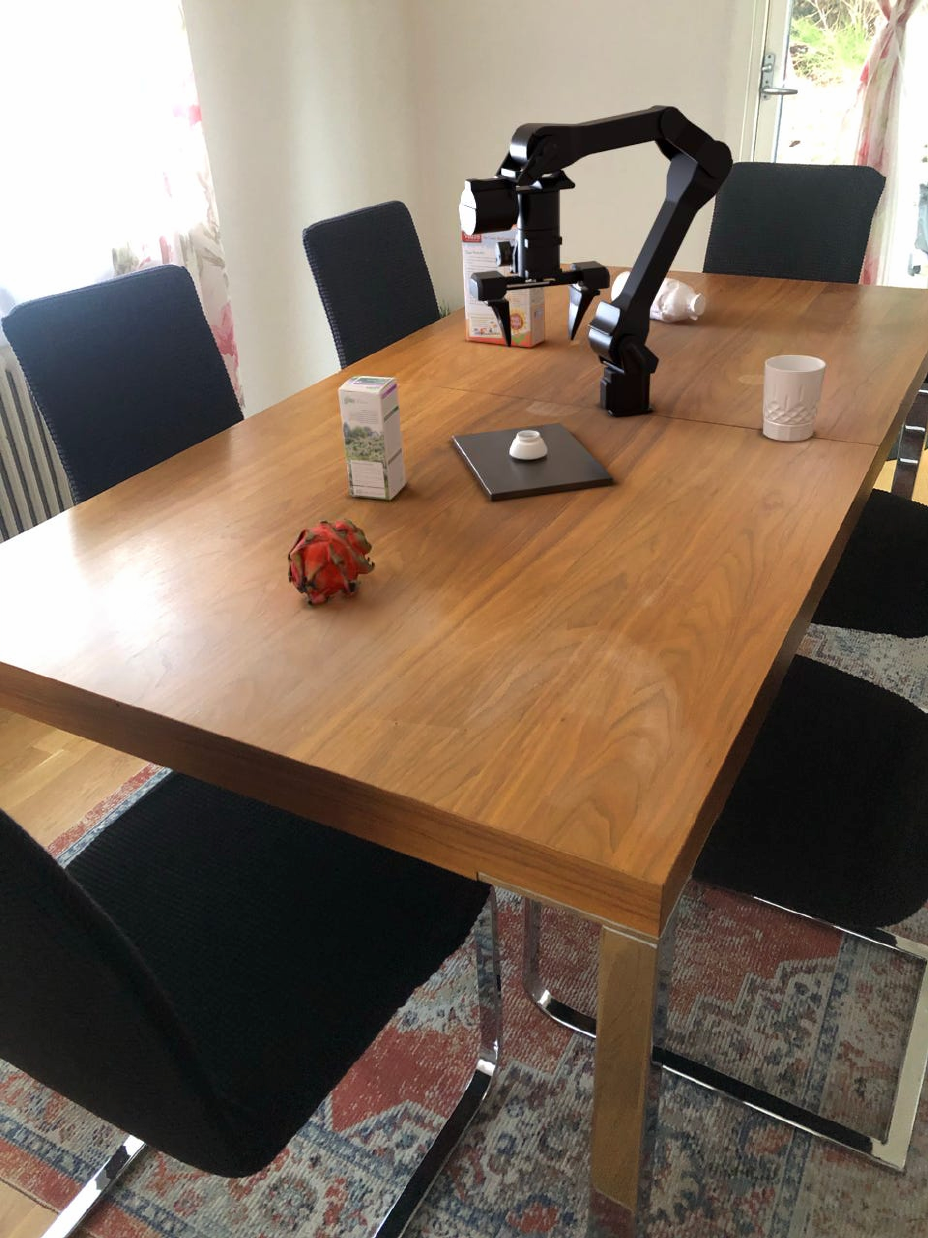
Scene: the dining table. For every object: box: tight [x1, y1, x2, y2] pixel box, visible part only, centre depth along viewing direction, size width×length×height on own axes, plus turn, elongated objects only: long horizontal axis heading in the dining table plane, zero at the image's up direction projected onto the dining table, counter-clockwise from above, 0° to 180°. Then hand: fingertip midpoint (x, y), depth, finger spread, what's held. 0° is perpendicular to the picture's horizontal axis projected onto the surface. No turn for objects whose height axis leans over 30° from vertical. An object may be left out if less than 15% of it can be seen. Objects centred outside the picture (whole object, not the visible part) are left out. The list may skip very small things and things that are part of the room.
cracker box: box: [461, 224, 546, 348], centre depth 188 cm, size 14×6×21 cm, turn 58°
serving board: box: [452, 422, 614, 502], centre depth 140 cm, size 16×22×1 cm
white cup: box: [762, 354, 827, 443], centre depth 142 cm, size 8×8×10 cm
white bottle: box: [610, 270, 707, 324], centre depth 199 cm, size 8×19×8 cm, turn 41°
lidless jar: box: [510, 431, 547, 460], centre depth 139 cm, size 5×3×5 cm
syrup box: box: [337, 375, 407, 501], centre depth 130 cm, size 6×6×14 cm
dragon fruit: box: [287, 518, 376, 607], centre depth 109 cm, size 8×8×12 cm
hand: (539, 342), depth 147 cm, fingers open, 9 cm apart
